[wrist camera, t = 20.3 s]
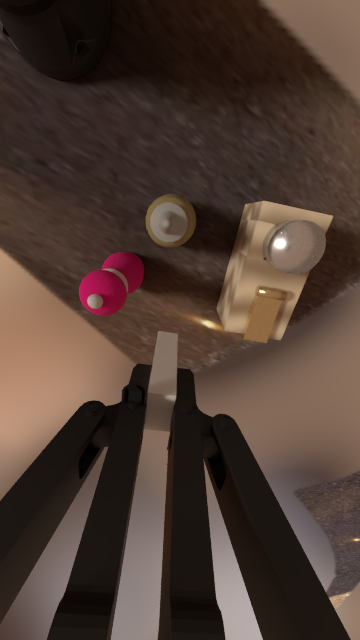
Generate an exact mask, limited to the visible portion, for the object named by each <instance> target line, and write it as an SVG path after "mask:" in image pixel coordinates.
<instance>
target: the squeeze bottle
mask: <svg viewBox="0 0 360 640" xmlns="http://www.w3.org/2000/svg"><path fill="white" fill-rule="evenodd" d="M195 227H196V214H195V211H194V209H193V206H192V205H191V204H190V203H189V201H188V200H187V199H186V198H184V197H182V196H180V195H178V194H165V195H163V196H161V197H159V198H157V199H156V200H155V201H154V202H153V203H152V204H151V206H150V207H149V209H148V212H147V215H146V228H147V230H148V233H149V235H150V237H151V238H152V239H153V240H154V241H155V242H156V243H157V244H159V245H161V246H164V247H177V246H179V245H181V244H184V243H185V242H186V241H187V240H188V239H189V238H190V237H191V236H192V234H193V232H194V230H195Z"/></svg>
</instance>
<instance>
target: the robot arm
mask: <svg viewBox="0 0 360 640" xmlns="http://www.w3.org/2000/svg"><path fill="white" fill-rule="evenodd" d="M111 16H112V11H111V0H0V29H1V31H2V32H3V34H4V35H5V37H6V38H7V40H8V41H9V42H10V44H11V45H12V46H13V47H14V49H15V50H16V51H17V52H18V53H19V54H20V55H21V56H22V57H23V58H24V59H25V60H26V61H27V62H28V63H29V64H30V65H31V66H32V67H34V68H35V69H36V70H38V71H39V72H41V73H42V74H44V75H46V76H49V77H51V78H54V79H59V80H72V79H76V78H79V77H82V76H83V75H85V74H87V73H88V72H89V71H91V70H92V69H93V68H94V67H95V65H96V64H97V63H98V62H99V60H100V59H101V57H102V55H103V53H104V51H105V48H106V46H107V43H108V39H109V35H110V29H111ZM177 338H178V334H176V333H168V332H161V331H158V336H157V342H156V347H155V353H154V359H153V364H152V365H145V364H137V365H136V366H135V367H134V368H133V371H132V375H131V378H130V382H129V384H128V385H127V386H126V387H124V389H123V390H122V401H121V402H120V403H117V404H115V405H110V406H105V405H104V404H103V403H101V402H100V401H88V402H86V403H84V404H83V405H82V406H80V408H79V409H78V410H77V411H76V412H75V413H74V415H73V416H72V417H71V418H70V419H69V420H68V422H67V423H66V424H65V425H64V426H63V427H62V429H61V430H60V431H59V432H58V433H57V435H56V436H55V437H54V438H53V439H52V440H51V442H50V443H49V444H48V445H47V446H46V448H45V449H44V450H43V451H42V452H41V453H40V455H39V456H38V457H37V458H36V459H35V460H34V462H33V463H32V464H31V465H30V466H29V468H28V469H27V470H26V471H25V472H24V473H23V475H22V476H21V477H20V478H19V479H18V480H17V482H16V483H15V484H14V485H13V486H12V488H11V489H10V490H9V491H8V492H7V494H6V495H5V496H4V497H3V498H2V500H1V501H0V623H1V622H2V620H3V618H4V617H5V615H6V613H7V612H8V610H9V608H10V607H11V605H12V603H13V602H14V600H15V598H16V596H17V595H18V593H19V591H20V590H21V588H22V586H23V585H24V583H25V581H26V579H27V578H28V576H29V574H30V573H31V571H32V569H33V568H34V566H35V564H36V563H37V561H38V559H39V558H40V556H41V554H42V552H43V551H44V549H45V547H46V546H47V544H48V542H49V541H50V539H51V537H52V536H53V534H54V532H55V531H56V529H57V527H58V525H59V524H60V522H61V520H62V519H63V517H64V515H65V514H66V512H67V510H68V509H69V507H70V505H71V503H72V502H73V500H74V498H75V497H76V495H77V493H78V492H79V490H80V488H81V487H82V485H83V483H84V481H85V480H86V478H87V476H88V475H89V473H90V471H91V469H92V468H93V466H94V464H95V463H96V461H97V459H98V458H99V456H100V454H101V453H102V451H103V449H104V447H107V446H108V450H107V453H106V457H105V460H104V463H103V467H102V470H101V473H100V477H99V480H98V484H97V487H96V490H95V494H94V498H93V500H92V504H91V508H90V511H89V514H88V517H87V521H86V524H85V528H84V531H83V534H82V538H81V541H80V544H79V548H78V551H77V555H76V558H75V561H74V565H73V568H72V571H71V575H70V578H69V581H68V585H67V588H66V591H65V593H64V596H63V598H62V600H61V601H60V603H59V605H58V608H57V610H56V613H55V615H54V619H53V622H52V625H51V628H50V631H49V634H48V637H47V640H111V634H112V627H113V620H114V613H115V608H116V601H117V595H118V589H119V583H120V576H121V570H122V564H123V557H124V550H125V545H126V538H127V532H128V526H129V520H130V514H131V507H132V500H133V495H134V489H135V482H136V476H137V470H138V464H139V456H140V451H141V445H142V438H143V430H144V429H150V430H159V431H170V436H169V441H168V447H167V450H168V464H167V485H166V502H165V503H166V504H165V521H164V541H163V561H162V579H161V600H160V618H159V632H158V640H225V632H224V625H223V619H222V615H221V611H220V609H219V607H218V604H217V600H216V593H215V583H214V571H213V560H212V549H211V538H210V527H209V516H208V506H207V494H206V483H205V471H204V462H205V465H206V467H207V470H208V474H209V477H210V480H211V483H212V486H213V489H214V492H215V495H216V498H217V501H218V504H219V507H220V510H221V513H222V516H223V519H224V522H225V525H226V529H227V531H228V535H229V537H230V541H231V544H232V547H233V550H234V553H235V556H236V559H237V562H238V565H239V568H240V571H241V574H242V577H243V580H244V583H245V586H246V589H247V592H248V595H249V598H250V601H251V604H252V607H253V610H254V614H255V616H256V620H257V623H258V626H259V629H260V632H261V635H262V638H263V640H351V639H350V638H349V636H348V634H347V632H346V630H345V628H344V626H343V624H342V622H341V621H340V618H339V617H338V615H337V613H336V611H335V609H334V607H333V605H332V603H331V601H330V600H329V598H328V596H327V594H326V592H325V590H324V588H323V586H322V584H321V582H320V581H319V579H318V577H317V575H316V573H315V571H314V570H313V567H312V566H311V564H310V562H309V560H308V558H307V556H306V554H305V552H304V550H303V548H302V546H301V545H300V543H299V541H298V539H297V537H296V535H295V534H294V531H293V529H292V527H291V526H290V524H289V522H288V520H287V518H286V516H285V514H284V512H283V511H282V508H281V507H280V505H279V503H278V501H277V499H276V497H275V495H274V493H273V491H272V489H271V488H270V486H269V484H268V482H267V480H266V478H265V476H264V474H263V472H262V471H261V469H260V467H259V465H258V463H257V461H256V459H255V457H254V455H253V453H252V452H251V450H250V448H249V446H248V444H247V442H246V440H245V438H244V436H243V435H242V433H241V431H240V429H239V427H238V425H237V423H236V422H235V420H234V419H233V418H231V417H230V416H228V415H226V414H218V415H216V416H214V417H211V416H208V415H206V414H204V413H203V412H201V411H200V410H199V409H198V407H197V405H196V396H195V384H194V374H193V373H192V371H191V370H190V369H182V368H177ZM203 459H204V460H203ZM203 461H204V462H203Z"/></svg>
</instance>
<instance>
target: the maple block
mask: <svg viewBox="0 0 360 640" xmlns="http://www.w3.org/2000/svg"><path fill="white" fill-rule="evenodd" d="M332 218H333V216H331V215H326V214H322V213H317V212H312V211H308V210H303V209H299V208H294V207H290V206H285V205H281V204H276V203H272V202H267V201H261V202H255V203H250V204H245V207H244V211H243V215H242V218H241V222H240V225H239V229H238V233H237V236H236V240H235V244H234V247H233V251H232V255H231V258H230V262H229V265H228V269H227V273H226V276H225V280H224V284H223V287H222V291H221V294H220V298H219V302H218V305H217V312H218V314H219V317H220V319H221V322H222V324H223V327H224V330H225V331H230V332H236V333H242V334H243V331H244V328H245V325H246V322H247V319H248V316H249V313H250V310H251V307H252V304H253V300H254V297H255V290H256V288H257V286H258V285H259V286H264V287H270V288H275V289H280V290H285V291H287V298H286V300H285V301H282V302H281V305H280V308H279V310H278V313H277V316H276V319H275V321H274V324H273V327H272V329H271V332H270V335H269V337H268V338H270V339H276V340H281V338H282V336H283V334H284V331H285V329H286V326H287V324H288V322H289V319H290V317H291V315H292V312H293V310H294V308H295V305H296V303H297V300H298V298H299V296H300V293H301V291H302V289H303V286H304V284H305V282H306V279H307V277H308V274H309V272H310V270H311V269H310V270H309V271H307V272H305V273H302V274H298V275H289V274H285V273H283V272H281V271H279V270H278V269H276V268H274V267H272V266H271V265H269V264H268V263H267V262H266V260H265V259H264V256H263V252H262V246H263V241H264V238H265V236H266V234H267V233H268V231H269V230H270V229H271V228H272V227H273V226H275V225H276V224H278V223H280V222H282V221H285V220H307V221H312V222H314V223H316V224H318V225H319V226H320V227H321V228H322V230H323V232H324V234H326V232H327V230H328V227H329V225H330V222H331V220H332Z"/></svg>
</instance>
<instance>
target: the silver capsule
mask: <svg viewBox="0 0 360 640" xmlns="http://www.w3.org/2000/svg"><path fill="white" fill-rule="evenodd" d="M325 247H326V238H325V234H324V232H323V230H322V228H321V227H320V226H319V225H318V224H316V223H314V222H312V221H307V220H285V221H282V222H280V223H278V224H276V225H275V226H273V227H272V228H271V229H270V230H269V231H268V233H267V234H266V236H265V238H264V241H263V246H262V252H263V256H264V259H265V260H266V262H267V263H268V264H269V265H271V266H272V267H274V268H276V269H278V270H279V271H281V272H283V273H285V274H289V275H298V274H302V273H305V272H307V271H309V270H310V269H312V268H313V267H314V266H315V265H316V264H317V263H318V262H319V261H320V259H321V258H322V256H323V253H324V251H325Z"/></svg>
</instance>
